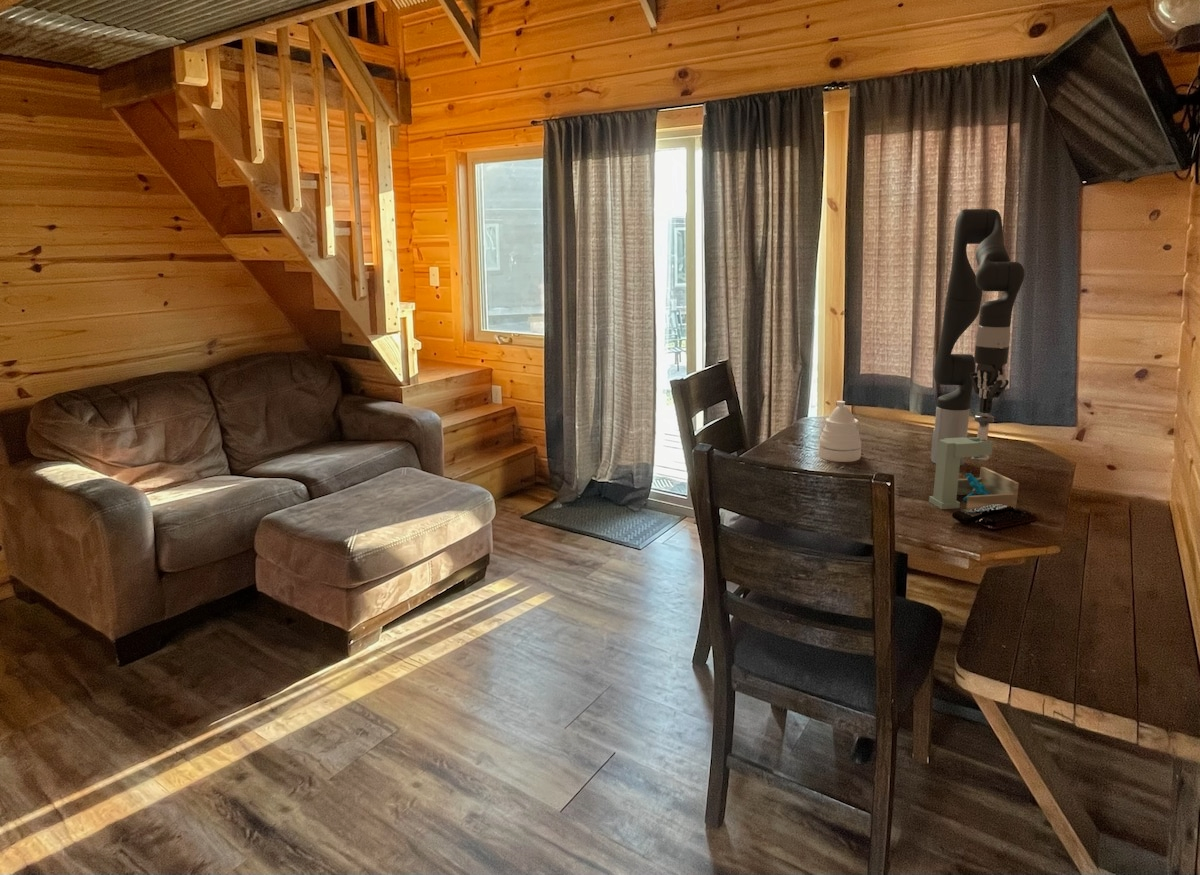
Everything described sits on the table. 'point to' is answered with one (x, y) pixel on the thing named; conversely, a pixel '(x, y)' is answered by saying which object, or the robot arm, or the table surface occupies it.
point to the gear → (976, 487)
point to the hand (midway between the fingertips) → (984, 412)
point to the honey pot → (840, 436)
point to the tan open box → (990, 490)
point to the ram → (983, 432)
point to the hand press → (953, 467)
